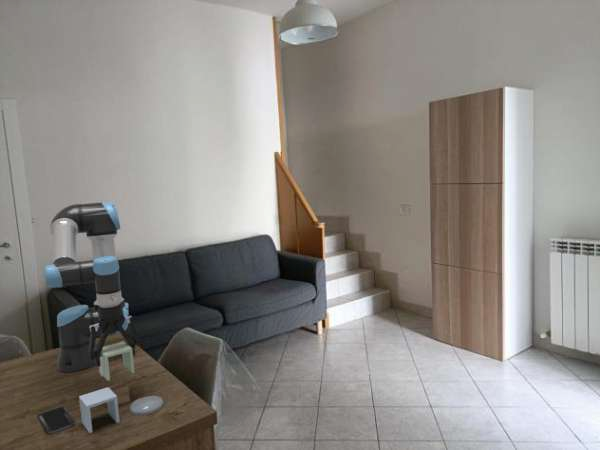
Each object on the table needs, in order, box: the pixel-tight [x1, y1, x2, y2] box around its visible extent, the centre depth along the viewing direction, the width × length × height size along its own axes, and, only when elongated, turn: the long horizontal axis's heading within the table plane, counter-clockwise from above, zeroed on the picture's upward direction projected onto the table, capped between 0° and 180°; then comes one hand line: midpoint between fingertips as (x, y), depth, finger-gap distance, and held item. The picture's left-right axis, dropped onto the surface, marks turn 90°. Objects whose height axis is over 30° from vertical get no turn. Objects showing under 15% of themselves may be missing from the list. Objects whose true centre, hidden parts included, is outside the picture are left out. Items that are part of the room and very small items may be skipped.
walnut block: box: [108, 381, 131, 406], centre depth 154 cm, size 5×5×5 cm
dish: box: [129, 395, 164, 416], centre depth 149 cm, size 10×10×1 cm
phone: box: [37, 406, 76, 436], centre depth 143 cm, size 8×1×15 cm
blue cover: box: [78, 386, 121, 434], centre depth 141 cm, size 9×9×8 cm
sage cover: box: [100, 341, 135, 381], centre depth 153 cm, size 9×9×8 cm
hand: (116, 370), depth 154 cm, fingers closed on sage cover, 9 cm apart
